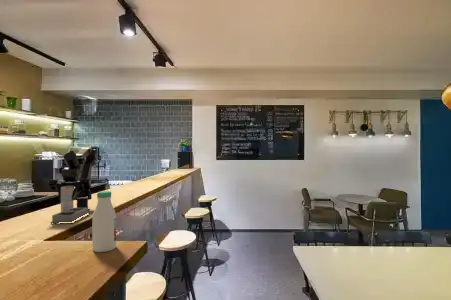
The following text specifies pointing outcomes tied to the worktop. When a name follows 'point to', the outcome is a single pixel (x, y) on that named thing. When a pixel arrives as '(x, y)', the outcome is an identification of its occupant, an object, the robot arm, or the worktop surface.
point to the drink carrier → (69, 215)
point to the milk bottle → (104, 224)
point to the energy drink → (66, 199)
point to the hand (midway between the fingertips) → (66, 198)
